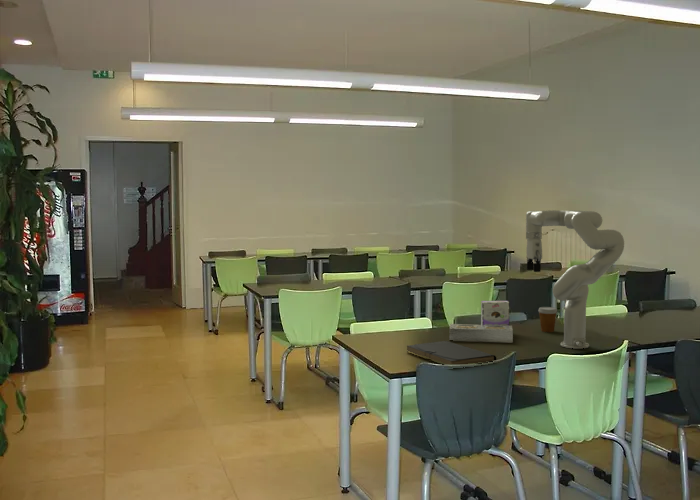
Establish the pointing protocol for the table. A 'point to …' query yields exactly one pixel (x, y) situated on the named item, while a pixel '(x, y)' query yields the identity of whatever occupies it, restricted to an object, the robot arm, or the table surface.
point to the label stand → (481, 333)
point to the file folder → (450, 353)
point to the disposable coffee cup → (547, 318)
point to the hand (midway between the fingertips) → (533, 270)
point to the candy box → (494, 313)
